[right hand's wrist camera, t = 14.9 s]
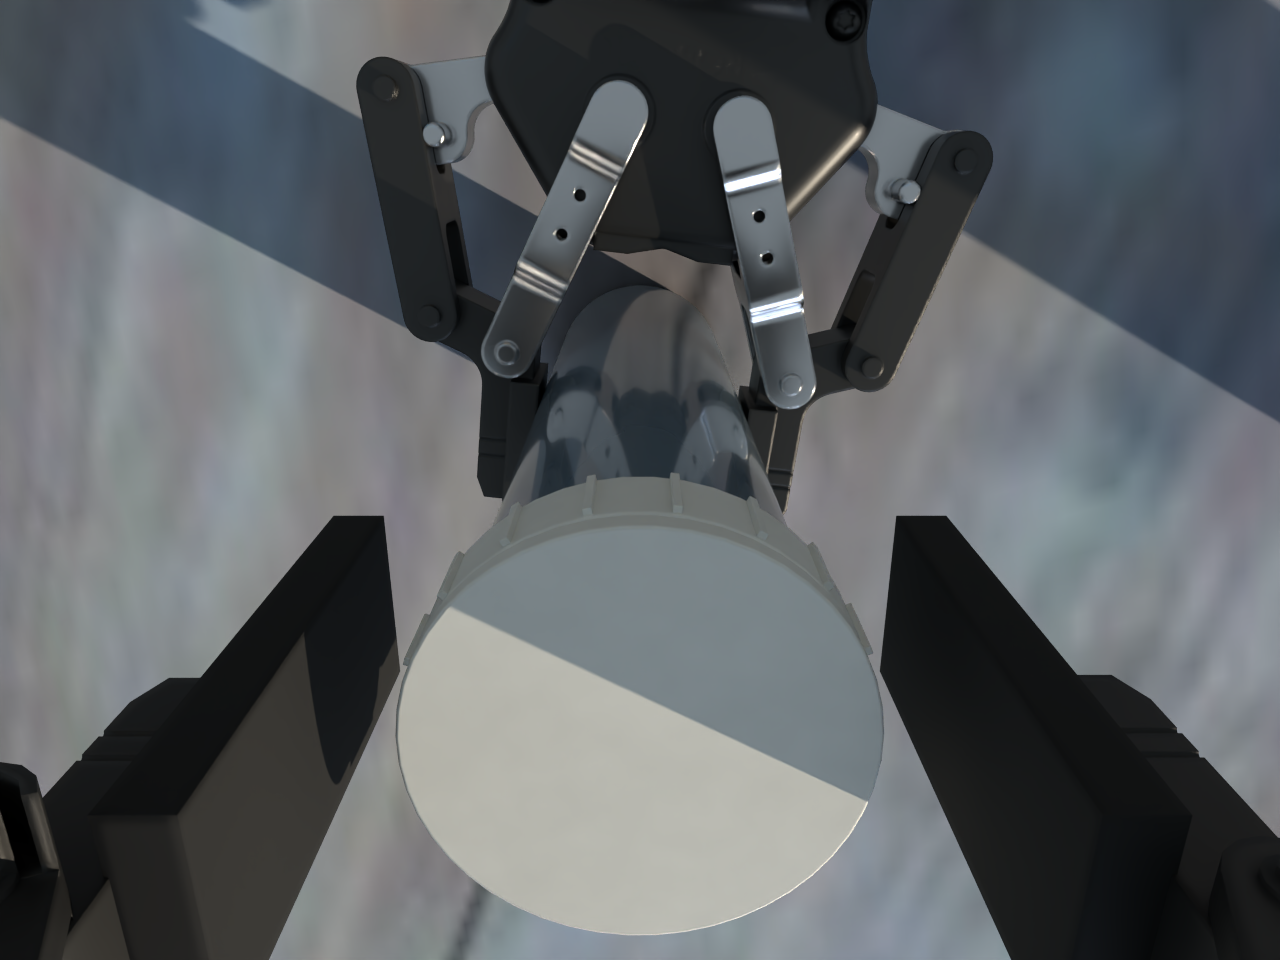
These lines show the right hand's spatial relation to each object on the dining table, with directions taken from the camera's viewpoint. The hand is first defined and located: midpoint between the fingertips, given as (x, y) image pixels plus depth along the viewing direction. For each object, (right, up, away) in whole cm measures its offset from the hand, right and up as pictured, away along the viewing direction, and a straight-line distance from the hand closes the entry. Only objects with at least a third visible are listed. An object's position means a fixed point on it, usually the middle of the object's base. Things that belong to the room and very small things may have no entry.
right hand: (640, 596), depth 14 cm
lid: (0, -1, -3) cm, 4 cm away
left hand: (0, +1, +9) cm, 9 cm away
